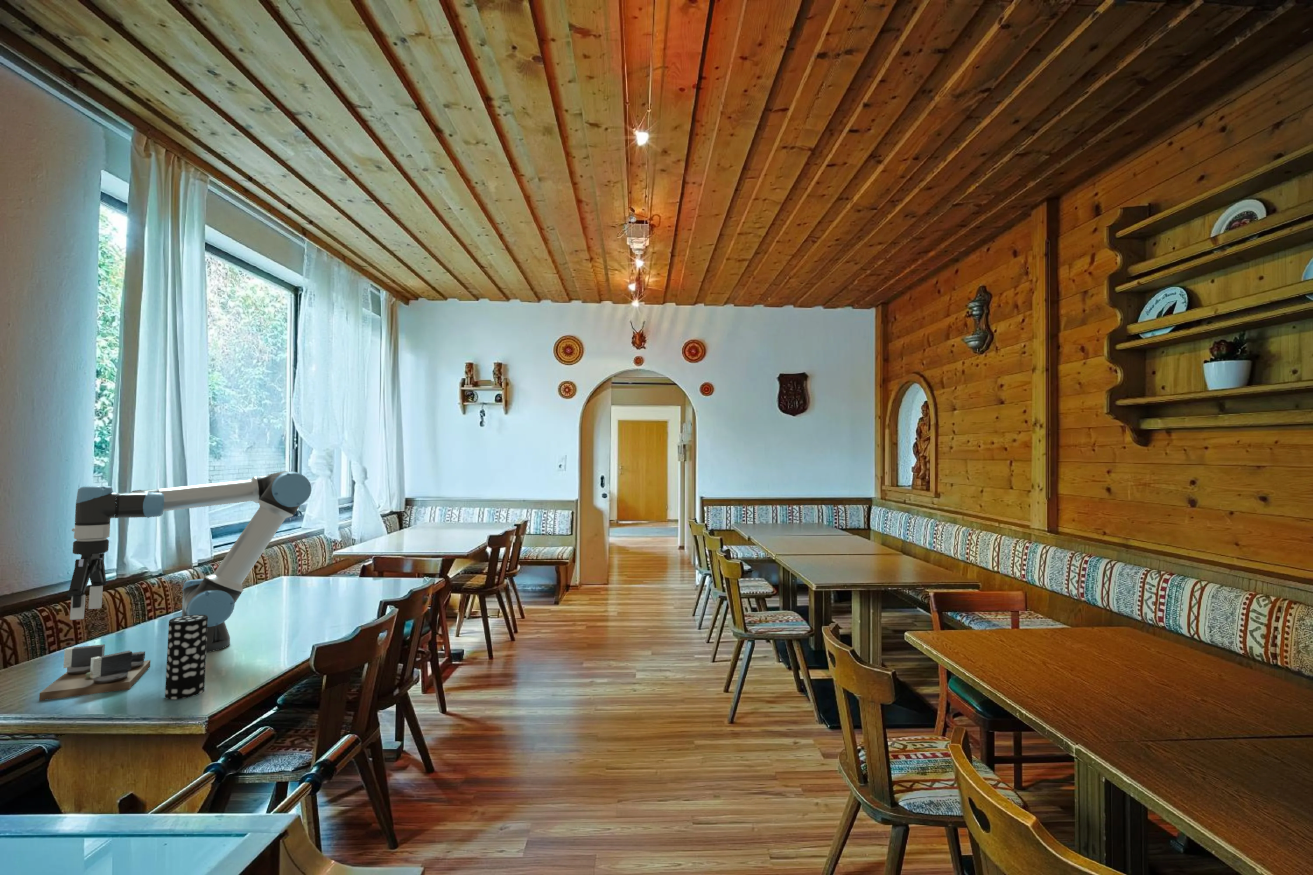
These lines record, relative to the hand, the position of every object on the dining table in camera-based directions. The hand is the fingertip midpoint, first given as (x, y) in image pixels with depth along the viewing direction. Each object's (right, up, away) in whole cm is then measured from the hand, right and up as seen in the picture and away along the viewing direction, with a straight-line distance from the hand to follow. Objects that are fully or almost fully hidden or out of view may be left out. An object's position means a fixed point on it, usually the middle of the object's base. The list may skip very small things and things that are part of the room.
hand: (86, 613), depth 170 cm
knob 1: (0, -16, -1) cm, 16 cm away
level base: (+7, -18, -4) cm, 20 cm away
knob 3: (+9, -17, +3) cm, 19 cm away
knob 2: (+14, -16, -7) cm, 22 cm away
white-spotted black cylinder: (+37, -19, -11) cm, 43 cm away
